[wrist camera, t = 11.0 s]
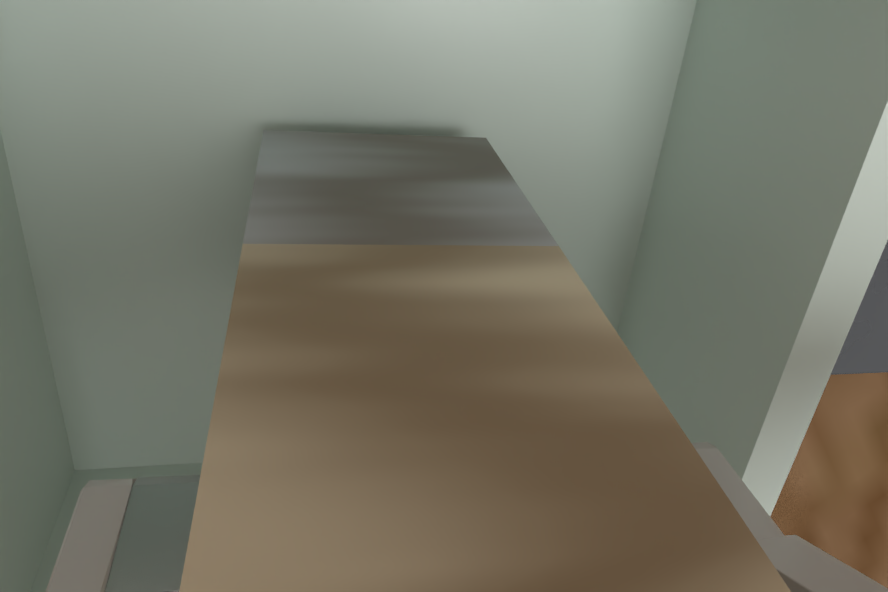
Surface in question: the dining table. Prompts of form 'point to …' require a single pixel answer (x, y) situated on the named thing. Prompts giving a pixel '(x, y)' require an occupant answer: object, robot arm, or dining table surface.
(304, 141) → the strut
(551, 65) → the bin
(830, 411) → the dining table surface
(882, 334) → the stud plate
